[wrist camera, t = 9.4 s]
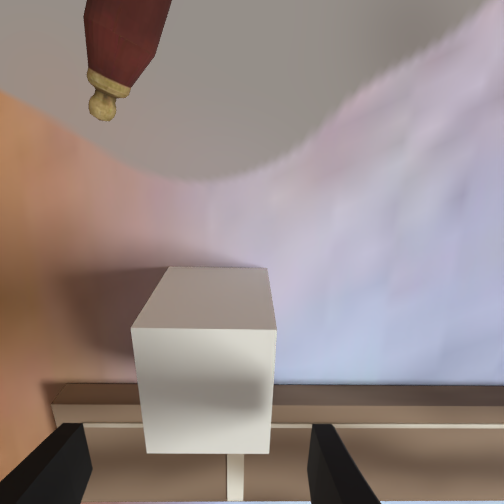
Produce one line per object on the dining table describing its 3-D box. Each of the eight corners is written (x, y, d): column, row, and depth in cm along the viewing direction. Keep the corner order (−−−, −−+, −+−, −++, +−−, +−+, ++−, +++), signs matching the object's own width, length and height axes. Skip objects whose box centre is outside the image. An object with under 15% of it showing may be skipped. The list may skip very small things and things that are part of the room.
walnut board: (521, 476, 21) (542, 502, 20) (88, 477, 21) (75, 503, 19) (564, 386, 18) (592, 407, 17) (66, 383, 18) (49, 405, 16)
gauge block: (262, 366, 18) (268, 459, 13) (176, 365, 18) (147, 458, 12) (267, 267, 16) (276, 330, 10) (169, 265, 15) (130, 327, 10)
